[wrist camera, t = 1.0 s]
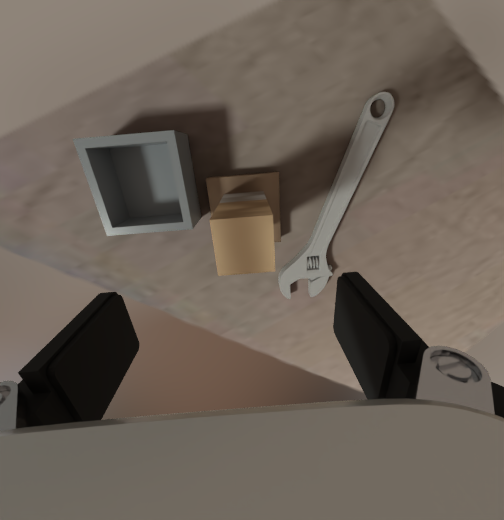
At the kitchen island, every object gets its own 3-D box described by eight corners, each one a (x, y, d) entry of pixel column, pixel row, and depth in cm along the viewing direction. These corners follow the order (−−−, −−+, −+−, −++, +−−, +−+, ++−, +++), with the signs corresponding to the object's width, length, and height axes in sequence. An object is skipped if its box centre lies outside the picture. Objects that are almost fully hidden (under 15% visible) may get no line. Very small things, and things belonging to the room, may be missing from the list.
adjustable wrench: (368, 90, 24) (377, 85, 22) (418, 116, 25) (430, 114, 24) (272, 286, 33) (273, 292, 32) (311, 299, 35) (315, 306, 33)
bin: (187, 134, 25) (173, 130, 20) (201, 216, 29) (192, 229, 24) (104, 141, 25) (72, 138, 21) (129, 222, 29) (107, 235, 24)
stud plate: (277, 171, 27) (284, 176, 22) (279, 237, 30) (285, 255, 25) (207, 177, 27) (198, 183, 22) (217, 242, 30) (211, 260, 25)
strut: (263, 191, 26) (273, 214, 16) (265, 228, 28) (275, 271, 18) (224, 194, 26) (209, 220, 16) (228, 231, 28) (218, 275, 18)
